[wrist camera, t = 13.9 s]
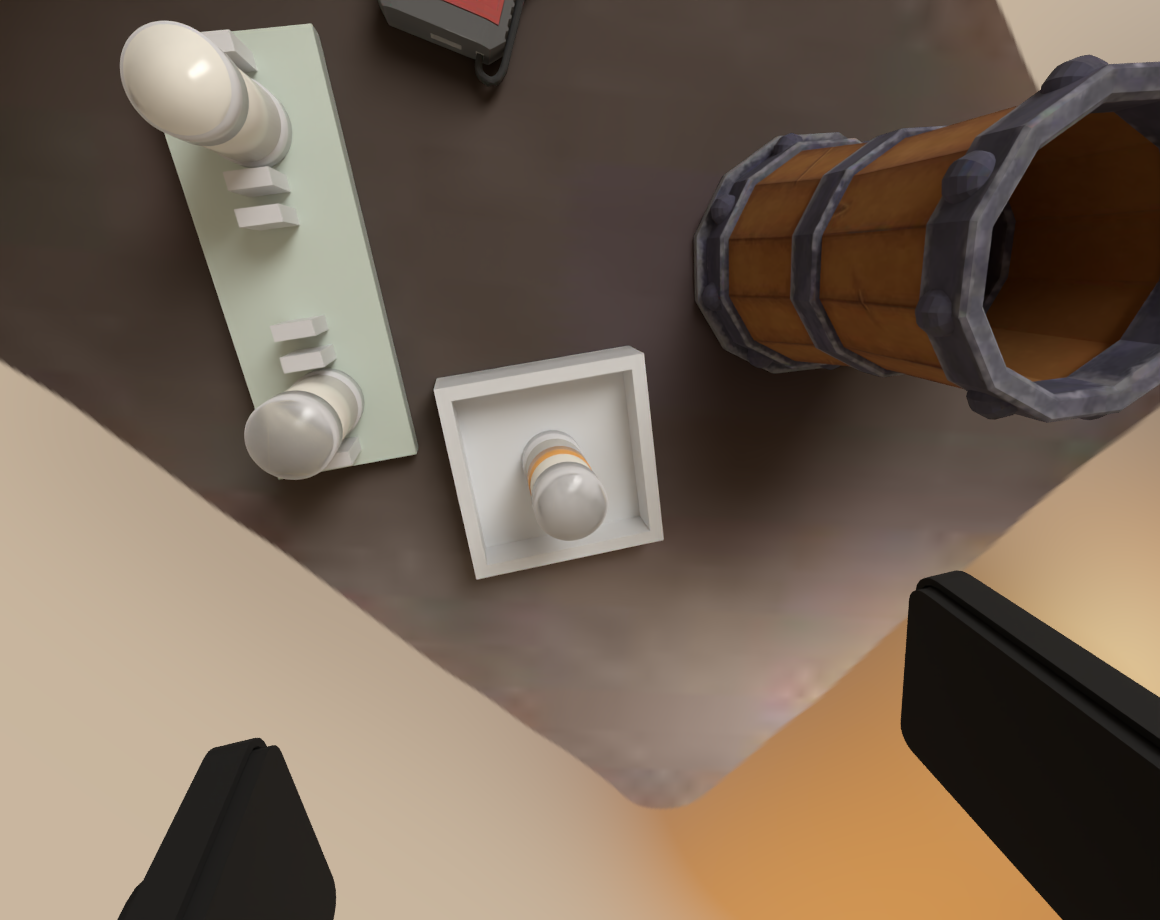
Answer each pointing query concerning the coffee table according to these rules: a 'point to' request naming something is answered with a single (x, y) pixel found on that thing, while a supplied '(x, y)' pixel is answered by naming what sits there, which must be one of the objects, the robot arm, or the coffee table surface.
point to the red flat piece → (462, 28)
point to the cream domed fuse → (202, 95)
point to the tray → (533, 405)
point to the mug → (957, 250)
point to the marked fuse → (563, 487)
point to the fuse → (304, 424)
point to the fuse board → (297, 248)
